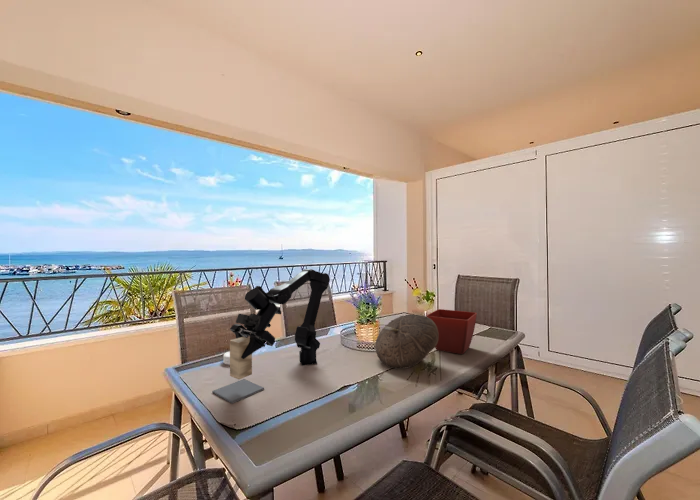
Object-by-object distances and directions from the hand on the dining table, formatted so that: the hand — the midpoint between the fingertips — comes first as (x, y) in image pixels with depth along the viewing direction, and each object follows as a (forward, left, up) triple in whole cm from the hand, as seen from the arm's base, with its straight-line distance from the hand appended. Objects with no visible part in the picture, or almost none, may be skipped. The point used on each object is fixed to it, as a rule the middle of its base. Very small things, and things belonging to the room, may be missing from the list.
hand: (237, 356), depth 100 cm
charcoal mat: (0, -2, -12) cm, 13 cm away
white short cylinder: (+3, -33, -13) cm, 36 cm away
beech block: (-1, -1, -7) cm, 7 cm away
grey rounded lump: (-67, -9, -13) cm, 69 cm away
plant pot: (-96, -17, -13) cm, 99 cm away
